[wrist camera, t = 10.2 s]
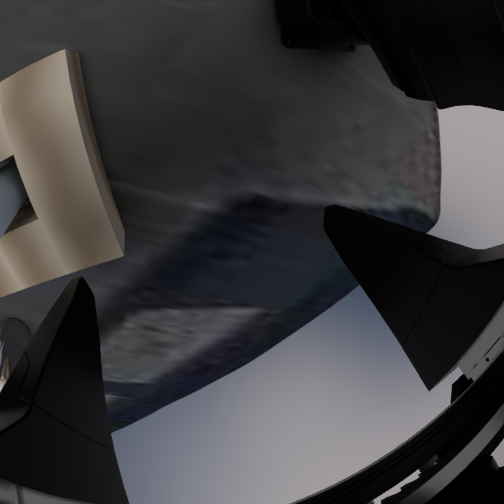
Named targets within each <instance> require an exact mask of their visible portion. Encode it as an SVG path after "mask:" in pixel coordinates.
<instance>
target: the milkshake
mask: <svg viewBox="0 0 504 504" xmlns="http://www.w3.org/2000/svg"><path fill="white" fill-rule="evenodd" d="M28 342H29V330H28V328H27V326H26V325H25V324H24V323H22V322H21V321H20V320H17V319H13V318H10V319H8V320H6V321H5V324H4V326H3V329H2V332H1V335H0V391H1V389H2V388H3V386H4V384H5V383H6V381H7V379H8V378H9V376H10V374H11V373H12V371H13V369H14V368H15V366H16V364H17V362H18V361H19V359H20V357H21V356H22V354H23V352H24V351H25V349H26V347H27V345H28Z"/></svg>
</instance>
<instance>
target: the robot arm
mask: <svg viewBox="0 0 504 504" xmlns="http://www.w3.org/2000/svg"><path fill="white" fill-rule="evenodd" d="M276 4H277V15H278V22H279V23H280V24H281V36H282V44H283V45H284V46H285V47H287V48H308V49H324V50H335V51H345V52H354V51H355V50H356V45H370V46H371V48H372V50H373V51H374V53H375V55H376V56H377V58H378V60H379V61H380V63H381V65H382V67H383V69H384V70H385V72H386V74H387V75H388V77H389V79H390V81H391V83H392V84H393V85H394V86H396V87H397V88H399V89H400V90H402V91H404V92H405V94H406V96H407V97H411V98H415V99H418V100H424V101H435V102H436V105H437V108H438V109H445V108H449V107H453V106H462V105H474V106H482V107H487V108H492V109H496V110H500V111H504V0H276ZM288 39H290V40H291V44H289V43H288ZM349 45H350V48H349ZM323 226H324V230H325V232H326V234H327V236H328V237H329V239H330V240H331V242H332V244H333V246H334V247H335V249H336V251H337V252H338V254H339V256H340V257H341V259H342V260H343V262H344V263H345V265H346V266H347V268H348V269H349V270H350V272H351V273H352V274H353V276H354V277H355V279H356V280H357V281H358V283H359V284H360V286H361V287H362V288H363V290H364V291H365V293H366V294H367V296H368V297H369V298H370V300H371V301H372V303H373V304H374V306H375V307H376V308H377V310H378V311H379V313H380V314H381V316H382V317H383V319H384V321H385V322H386V324H387V325H388V327H389V328H390V329H391V331H392V333H393V334H394V336H395V337H396V339H397V340H398V342H399V343H400V345H401V346H402V348H403V350H404V352H405V353H406V355H407V356H408V358H409V360H410V361H411V363H412V364H413V366H414V368H415V369H416V371H417V373H418V374H419V376H420V378H421V379H422V381H423V383H424V385H425V386H426V388H427V389H428V391H430V390H431V389H433V388H434V387H435V386H436V385H438V384H439V383H440V382H441V381H442V380H444V379H445V378H446V377H447V376H448V375H449V374H450V373H452V372H453V371H454V370H455V369H456V368H457V367H459V368H460V369H461V371H462V372H463V373H464V374H463V375H462V376H460V377H459V379H458V380H456V381H455V382H454V383H453V384H452V392H451V404H450V405H449V406H448V407H447V408H446V409H445V410H444V411H443V412H442V413H440V414H439V415H438V416H437V417H436V418H435V419H433V420H432V421H431V422H430V423H428V424H427V425H426V426H425V427H424V428H422V429H421V430H420V431H418V432H417V433H416V434H415V435H413V436H412V437H411V438H409V439H408V440H407V441H405V442H404V443H402V444H401V445H399V446H398V447H397V448H395V449H394V450H392V451H391V452H389V453H388V454H386V455H385V456H383V457H381V458H380V459H378V460H377V461H375V462H374V463H372V464H370V465H369V466H367V467H365V468H363V469H362V470H360V471H358V472H357V473H355V474H353V475H351V476H349V477H347V478H346V479H344V480H342V481H340V482H338V483H336V484H334V485H332V486H330V487H328V488H325V489H323V490H321V491H319V492H317V493H314V494H312V495H310V496H308V497H305V498H303V499H300V500H298V501H296V502H293V503H290V504H374V500H373V499H375V498H377V497H378V496H380V495H382V494H383V493H385V492H386V491H388V490H389V489H391V488H392V487H394V486H395V485H397V484H398V483H400V482H401V481H403V480H404V479H405V478H407V477H408V476H410V475H411V474H412V473H414V472H415V471H416V470H418V469H419V470H420V472H421V473H420V474H419V475H418V476H419V478H418V479H416V480H414V481H412V482H410V483H408V484H405V485H404V486H402V487H401V491H400V492H398V493H397V494H394V495H391V496H389V497H386V498H385V499H383V500H381V504H504V466H503V467H499V466H498V465H497V463H496V461H495V460H494V458H493V456H490V455H491V453H492V452H493V451H494V450H495V449H496V448H497V446H498V445H499V444H500V443H501V441H502V440H503V439H504V244H502V245H498V246H495V247H492V248H488V249H480V250H479V249H472V248H469V247H466V246H463V245H460V244H456V243H453V242H450V241H447V240H443V239H441V238H438V237H435V236H432V235H429V234H426V233H423V232H420V231H417V230H414V229H412V228H409V227H406V226H403V225H400V224H397V223H394V222H391V221H388V220H385V219H382V218H379V217H375V216H372V215H369V214H366V213H363V212H359V211H356V210H353V209H349V208H346V207H343V206H339V205H331V206H327V207H326V208H325V211H324V224H323ZM0 504H129V501H128V498H127V495H126V492H125V489H124V485H123V482H122V478H121V474H120V471H119V467H118V463H117V458H116V455H115V451H114V446H113V441H112V437H111V431H110V426H109V420H108V414H107V408H106V401H105V393H104V385H103V376H102V365H101V352H100V337H99V329H98V322H97V315H96V306H95V298H94V295H93V293H92V291H91V289H90V287H89V286H88V284H87V282H86V281H85V279H84V278H83V277H77V278H74V279H72V280H71V281H70V283H69V284H68V285H67V287H66V288H65V289H64V291H63V292H62V294H61V295H60V296H59V298H58V299H57V301H56V302H55V304H54V305H53V306H52V308H51V309H50V311H49V312H48V314H47V315H46V317H45V318H44V320H43V321H42V323H41V324H40V326H39V328H38V329H37V331H36V332H35V334H34V335H33V337H32V339H31V340H30V342H29V344H28V345H27V347H26V349H25V351H24V352H23V354H22V356H21V357H20V359H19V361H18V362H17V364H16V366H15V368H14V369H13V371H12V373H11V374H10V376H9V378H8V379H7V381H6V383H5V384H4V386H3V388H2V389H1V391H0Z"/></svg>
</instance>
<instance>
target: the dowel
mask: <svg viewBox="0 0 504 504" xmlns="http://www.w3.org/2000/svg"><path fill="white" fill-rule="evenodd" d="M28 197H29V196H28V194H27V191H26V189H25V186H24V183H23V181H22V178H21V175H20V172H19V170H18V167H17V164H16V161H15V159H13V160H11V161H10V162H8V163H7V164H6V165H5V166H4V167H3V168H1V169H0V239H1V237H2V236H3V234H4V232H5V231H6V229H7V228H8V226H9V224H10V223H11V221H12V220H13V218H14V217H15V215H16V214H17V212H18V211H19V209H20V208H21V207H22V205H23V204H24V202H25V201H26V200H27V198H28Z"/></svg>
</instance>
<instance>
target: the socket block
mask: <svg viewBox="0 0 504 504" xmlns="http://www.w3.org/2000/svg"><path fill="white" fill-rule="evenodd" d="M12 155H14V158H15V161H16V164H17V167H18V170H19V172H20V175H21V178H22V181H23V183H24V186H25V189H26V191H27V194H28V196H29V199H30V201H31V203H32V205H31V206H29V207H26V208H24V209H22V210H20V211H18V212H17V214H16V215H15V217H14V218H13V220H12V221H11V223H10V224H9V226H8V228H7V229H6V231H5V232H4V234H3V236H2V237H1V239H0V297H3V296H6V295H9V294H11V293H14V292H17V291H20V290H23V289H25V288H28V287H31V286H34V285H37V284H40V283H43V282H46V281H49V280H52V279H55V278H58V277H61V276H64V275H67V274H70V273H73V272H76V271H79V270H82V269H85V268H88V267H91V266H94V265H97V264H101V263H104V262H107V261H110V260H113V259H117V258H120V257H123V256H124V239H125V229H124V226H123V223H122V221H121V218H120V215H119V212H118V210H117V207H116V204H115V201H114V198H113V195H112V192H111V189H110V186H109V182H108V179H107V176H106V173H105V169H104V166H103V163H102V159H101V156H100V152H99V148H98V145H97V141H96V137H95V133H94V129H93V125H92V121H91V117H90V112H89V108H88V103H87V98H86V93H85V88H84V83H83V77H82V71H81V65H80V58H79V53H76V52H73V51H70V50H67V49H64V50H62V51H59V52H57V53H55V54H52V55H50V56H48V57H46V58H44V59H42V60H40V61H38V62H36V63H34V64H32V65H30V66H28V67H26V68H24V69H22V70H20V71H19V72H17V73H15V74H13V75H12V76H10V77H8V78H7V79H5V80H3V81H2V82H0V162H1V161H3V160H4V159H6V158H8V157H10V156H12Z"/></svg>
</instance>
